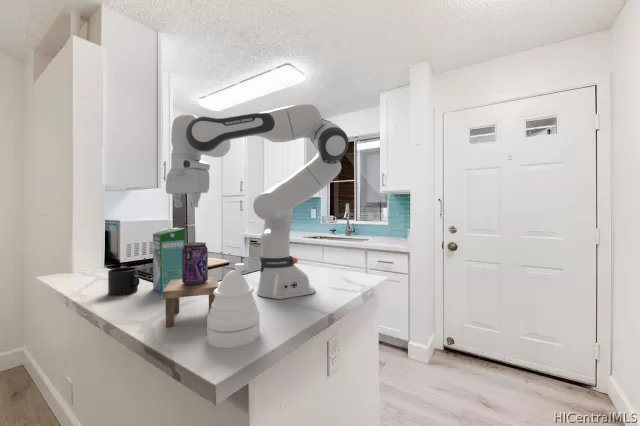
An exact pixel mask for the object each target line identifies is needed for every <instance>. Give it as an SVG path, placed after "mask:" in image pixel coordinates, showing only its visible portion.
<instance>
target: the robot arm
mask: <svg viewBox="0 0 640 426" xmlns="http://www.w3.org/2000/svg"><path fill="white" fill-rule="evenodd" d="M170 135H171V139H170V140H171V146H172V149H171V150H172V151H171V156H170V163H171V165H170V167H171V168H170V170H169V171H168V173H167V174H166V179H165V191H166V194H167V195H172V199H173V201H174V207H175V208H182V207H183V201H182V200H181V197H182V195H189V194H191V197H192V200H191V201H190V207H191V208H198V207H199V201H200V200H201V196H202V195H201V194H205V193H206V194H207V193H208V192H209V189H210V172H209V171H210V169H211V165H210V163H209V162H205V161H204V160H202V159H201V158H202V157H201V156H202V155H204V156H208V157H211V158H221V157H223V156H225V155H227V153H229V151H230V149H231V140H234V139H235V140H236V139H237V140H238V139H241V138H247V137H260V138H264V139H266V140H268V141H270V142H272V143H287V142H290V141H291V142H292V141H296V140H299V139H301V138H304V139H305V138H308V139H309V140H310V141H311V143H312V144H313V146H314V148H315V149H316V150H317V152H316V155H315V156H314V157H313V159H312V160H310V161H308V163H306V164H305V165H303V166H302V167H301V168H299V169H298V170H297V171H296V172H294V173H293V174H291V176H289V177H287V178H285V179H284V180H282V181H280V182H279V183H277V184H276V185H275V184H274V186H272V187H270V188H269V189H268V190H266V191H264V192H262V193H260V194H258V195H257V196H256V197H255V199H254V201H253V212H254V213H255V215H256V216H257V217H258V218H259V219H261V220H263V221H264V225H263V230H262V233H261V235H260V256H259V265H258V267H259V283H258V287H257V290H256V295H257V296H260V297H263V298H271V299H276V300H283V299H290V298H295V297H301V296H306V295H312V294H314V293H316V289H315V287H314V286H313V285H312V284H310V281H309V280H310V279H309V277H308V275H307V273H306V272H304V271H303V270H302V269H301V268H299V267H298V266H296V265H295V264H297V263H298V261H299V259H298V258H297V257H296V256H295V257H294V256H291V255H290V254H291V253H290V252H291V251H290V245H291V243H290V241H291V240H290V237H291V236H290V235H291V228H292V220H293V211H294V209H295V208H296V207H297V206H300V205H301V204H303V203H304V202H307V201H308V200H309V199H311V198H312V197H314V196H315V195H316V194H317V193H319V192H320V191H321V190H323V189H324V188H325V187H326V186H328V185H329V184H330V183H331V182H332V181H333V180H334V179H335V178H336V177H337V176H338V175H339V174H340V173H341V172H342V171H341V170H342V164H341V161H342V159H343V158H344V155H345V154H346V153H347V151H348V149H349V145H350V141H349V137H348V135H347V133H346V131H344V130H343V129H342V128H341V127H340V126H339V125H337V124H336V123H334V122H331V121H330V120H327V119H324V118H322V115H321V112H320V109H318V107H317V106H315V105H314V104H308V103H307V104H296V105H294V104H293V105H289V106H284V107H280V108H276V109H272V110H268V111H261V112H257V113H255V112H254V113H249V114H247V113H246V114H241V115H236V116H235V115H234V116H231V117H223V118H216V117H210V116H198V117H197V116H196V115H193V114H180V115H178V116H176V117H175V118H174V119H173V121H172V126H171V134H170Z"/></svg>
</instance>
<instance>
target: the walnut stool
mask: <svg viewBox="0 0 640 426" xmlns="http://www.w3.org/2000/svg"><path fill="white" fill-rule="evenodd" d="M218 287H219V276H208V280H207V281H205V282H204V283H202V284H198V285H187V284H185V283H183V282H182V279H176V280H171V281H170V282H169V283H168V285H167V286H166V288H165V289H164V290H163V293H162V300H165V328H170V327H174V325H175V314H179V313H180V298H188V297H197V296H198V297H200V296H208V315H209V314H210V309H211V308H212V307H211V305H212V303H213V301H214V298H215V295H214V294H213V291H214V290H215V289H216V288H218Z"/></svg>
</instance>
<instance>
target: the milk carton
mask: <svg viewBox="0 0 640 426" xmlns="http://www.w3.org/2000/svg"><path fill="white" fill-rule="evenodd" d="M185 243H186V240H185V227H173V228H169V227H165V228H162V229H159V230H158V232H155V233H152V267H153V268H152V270H153V271H152V273H153V276H152V278H153V280H152V286H153V287H152V288H153V290H154V291H156V292H158V293H159V294H163V290H164V289H165V288H166V286H167V285H168V283H169V282H170V281H171V280H176V279H182V249H183V247H184V244H185Z"/></svg>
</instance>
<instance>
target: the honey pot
mask: <svg viewBox="0 0 640 426" xmlns="http://www.w3.org/2000/svg"><path fill="white" fill-rule="evenodd" d="M245 265H246V264H245V263H242V262H239V263H234V268H235V269H233V270H230V271H229V272H228V273H226V275H225V276H224V277H223V278H222V280H221V282H220V284H219V285H218V288H216V289H215V290H214V291H213V294H214V295H215V298H214V301H213V303H212V305H211V307H212V308H211V309H210V314H209V313H208V315H207V319H206V341H207V343H208V345H210V346H212V347H215V348H223V349H224V348H236V347H241V346H245V345H247V344H250V343H252V342H254V341H256V340H257V338H259V337H260V333H261V324H260V323H261V322H260V311H259V309H258V306H257V304H256V299H255V298H254V295H253V292H254V291H255V288H254V287H253V286H252V285H251V284H249V283H248V282H247V280H246V278H245V277H244V276H243V274H242V273H241V272H242V271H244V270H245Z"/></svg>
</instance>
